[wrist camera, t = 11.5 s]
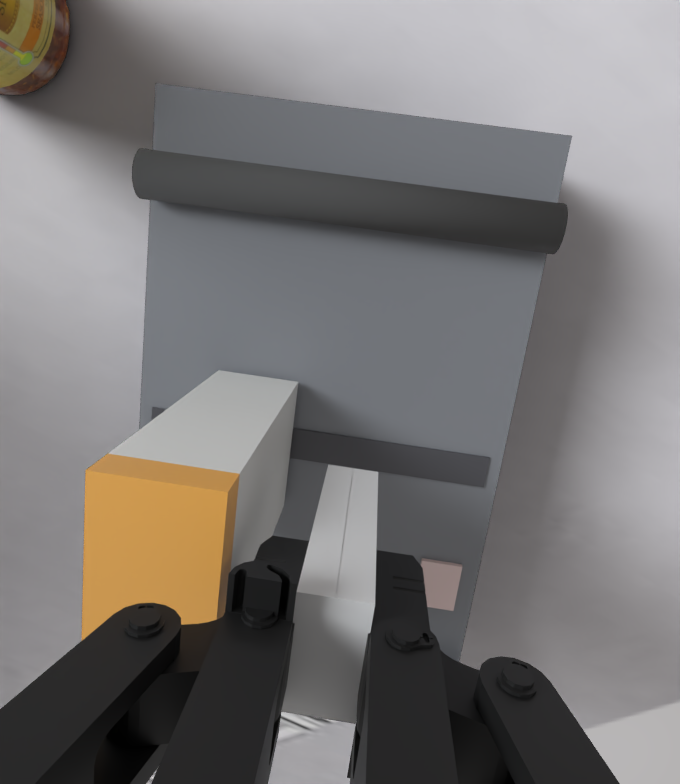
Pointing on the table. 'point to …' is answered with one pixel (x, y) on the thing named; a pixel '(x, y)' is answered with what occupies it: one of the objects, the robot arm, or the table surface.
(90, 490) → the lever
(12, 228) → the table surface
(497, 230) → the pair of dark rails
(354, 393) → the switch panel
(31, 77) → the sauce bottle
